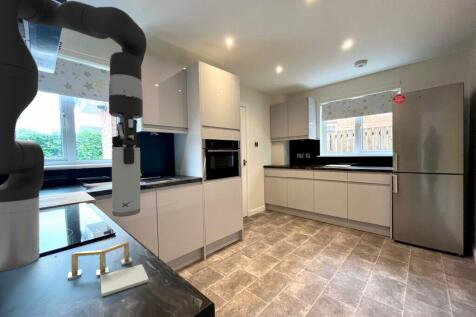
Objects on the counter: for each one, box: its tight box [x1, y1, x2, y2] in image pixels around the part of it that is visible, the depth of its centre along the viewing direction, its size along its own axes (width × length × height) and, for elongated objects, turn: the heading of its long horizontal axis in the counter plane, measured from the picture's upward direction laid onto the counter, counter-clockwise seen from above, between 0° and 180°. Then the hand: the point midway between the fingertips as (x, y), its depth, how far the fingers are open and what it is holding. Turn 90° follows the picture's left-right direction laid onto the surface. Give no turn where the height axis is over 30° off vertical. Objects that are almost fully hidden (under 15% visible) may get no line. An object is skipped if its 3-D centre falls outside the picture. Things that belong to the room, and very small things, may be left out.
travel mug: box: [111, 134, 141, 218], centre depth 52 cm, size 6×7×20 cm
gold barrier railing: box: [67, 241, 133, 281], centre depth 51 cm, size 13×5×6 cm, turn 125°
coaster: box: [99, 263, 150, 298], centre depth 48 cm, size 9×8×1 cm
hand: (126, 163), depth 52 cm, fingers closed on travel mug, 6 cm apart
